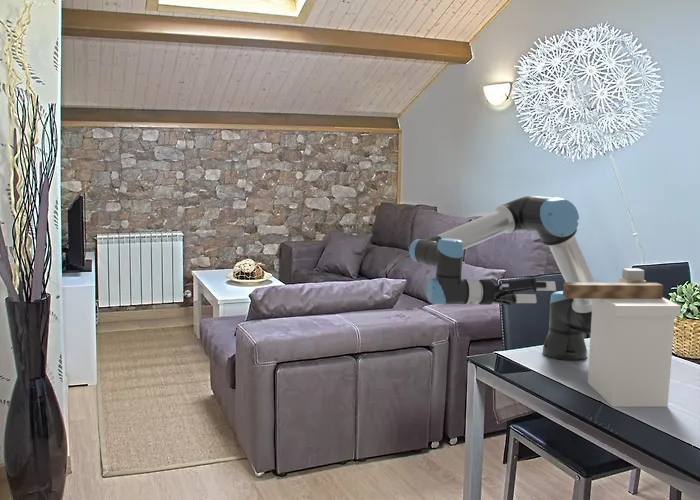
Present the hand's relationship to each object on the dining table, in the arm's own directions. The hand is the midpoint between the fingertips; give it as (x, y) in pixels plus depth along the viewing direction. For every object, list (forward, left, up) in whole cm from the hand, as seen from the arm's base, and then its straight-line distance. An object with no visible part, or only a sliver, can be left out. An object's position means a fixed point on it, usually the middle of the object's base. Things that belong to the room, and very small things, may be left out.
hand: (545, 292), depth 207 cm
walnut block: (+17, +9, 0) cm, 19 cm away
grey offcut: (+17, +21, +4) cm, 27 cm away
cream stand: (+21, +14, -30) cm, 39 cm away
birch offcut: (+17, +21, 0) cm, 27 cm away
